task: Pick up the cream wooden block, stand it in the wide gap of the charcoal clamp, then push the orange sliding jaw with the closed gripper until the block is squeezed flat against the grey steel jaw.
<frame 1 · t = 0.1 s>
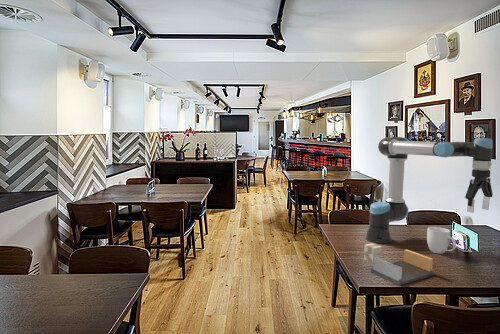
hand: (478, 210, 163), 28 cm above the table, tool pointing down, fingers open, 13 cm apart
block: (372, 260, 170), on the table
sliding jaw: (417, 260, 158), point 5 cm above the table, slide at 0.0 cm
mug: (439, 252, 182), on the table
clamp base: (402, 273, 154), on the table
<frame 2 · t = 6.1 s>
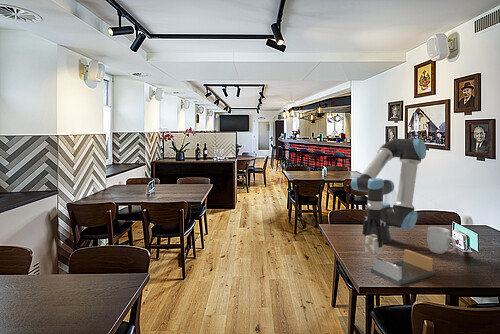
hand: (373, 250, 170), 5 cm above the table, tool pointing down, fingers closed on block, 6 cm apart
block: (373, 251, 170), point 5 cm above the table, touching gripper
everything else where it was.
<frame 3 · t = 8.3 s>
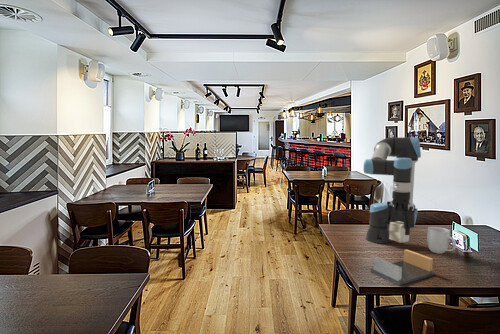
hand: (398, 239, 151), 17 cm above the table, tool pointing down, fingers closed on block, 6 cm apart
block: (398, 239, 151), point 17 cm above the table, touching gripper
everything else where it was.
when the fingers open (2 cm above the table, at t = 10.7 s): block stays where it is, resting on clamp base.
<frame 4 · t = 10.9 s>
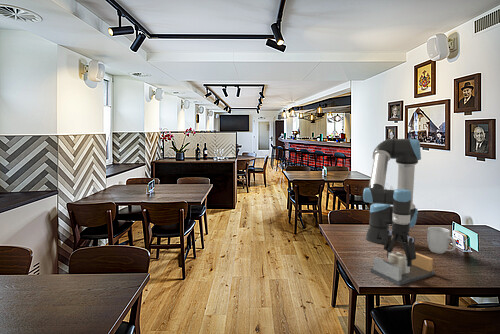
hand: (398, 268, 152), 3 cm above the table, tool pointing down, fingers open, 8 cm apart
block: (398, 271, 152), point 1 cm above the table, touching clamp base
everything else where it was.
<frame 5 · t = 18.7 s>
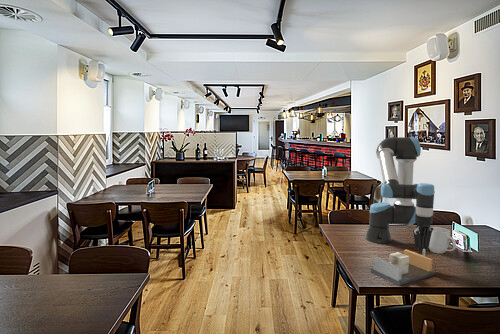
hand: (421, 261, 160), 3 cm above the table, tool pointing down, fingers closed
sliding jaw: (417, 260, 158), point 5 cm above the table, slide at 0.3 cm, touching gripper
everything else where it was.
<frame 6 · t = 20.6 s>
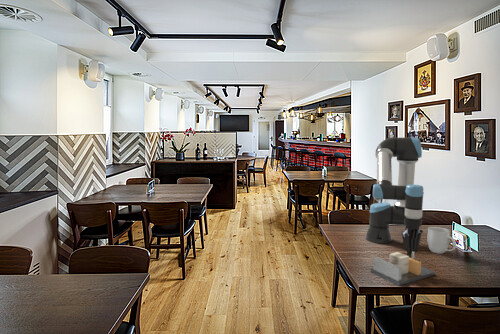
hand: (410, 264, 156), 3 cm above the table, tool pointing down, fingers closed
sliding jaw: (406, 263, 154), point 5 cm above the table, slide at 8.6 cm, touching gripper
everything else where it was.
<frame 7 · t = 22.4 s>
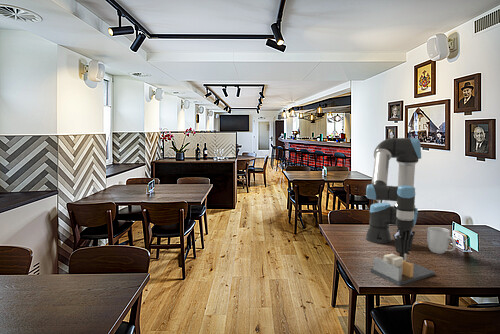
hand: (402, 266, 153), 3 cm above the table, tool pointing down, fingers closed
block: (392, 273, 151), point 1 cm above the table, touching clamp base, sliding jaw
sliding jaw: (398, 265, 152), point 5 cm above the table, slide at 14.0 cm, touching block, gripper
everything else where it was.
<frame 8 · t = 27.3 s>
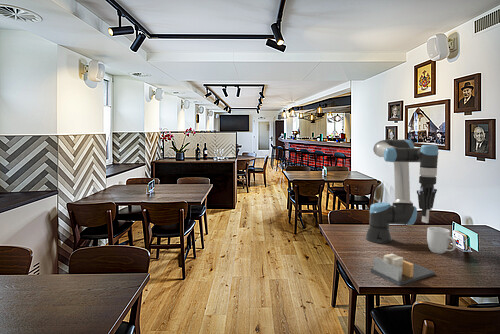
hand: (425, 222, 162), 22 cm above the table, tool pointing down, fingers closed
sliding jaw: (398, 265, 152), point 5 cm above the table, slide at 14.0 cm, touching block
everything else where it was.
at the end: sliding jaw touching block; block 0.0 cm from the target spot on the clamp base, point 1.5 cm above the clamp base's base; block tilted 0° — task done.
